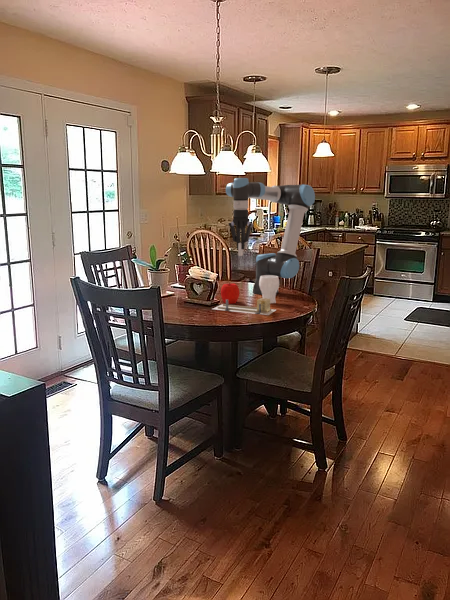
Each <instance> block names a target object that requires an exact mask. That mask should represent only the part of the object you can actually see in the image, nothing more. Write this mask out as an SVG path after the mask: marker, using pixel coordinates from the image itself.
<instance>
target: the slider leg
mask: <svg viewBox="0 0 450 600" xmlns="http://www.w3.org/2000/svg"><path fill="white" fill-rule="evenodd" d="M256 307H257V311H259V313H261V311H266V312H267V313H268V312H269V311H270V309H271V303H270V299H266V298H263V297H261V298H260V297H259V299H257V300H256Z"/></svg>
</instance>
